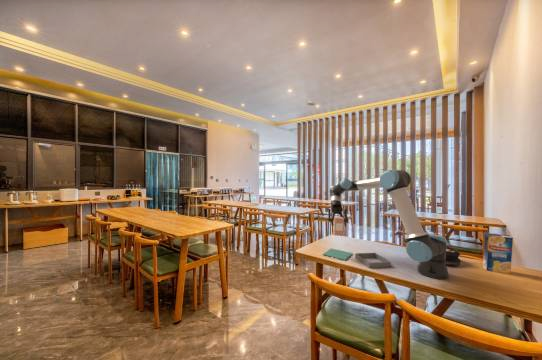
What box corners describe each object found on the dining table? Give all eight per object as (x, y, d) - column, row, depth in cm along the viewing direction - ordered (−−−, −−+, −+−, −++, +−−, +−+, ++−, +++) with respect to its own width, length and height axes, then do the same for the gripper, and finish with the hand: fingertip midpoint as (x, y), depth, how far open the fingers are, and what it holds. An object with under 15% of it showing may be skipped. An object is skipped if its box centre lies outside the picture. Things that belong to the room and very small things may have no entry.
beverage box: (510, 274, 139) (513, 237, 139) (486, 270, 144) (488, 235, 144) (505, 270, 145) (508, 235, 145) (482, 266, 151) (484, 232, 150)
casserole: (423, 252, 175) (424, 241, 174) (453, 256, 168) (454, 244, 168) (432, 264, 152) (433, 252, 151) (468, 269, 145) (469, 256, 144)
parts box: (341, 233, 168) (342, 216, 168) (343, 235, 162) (344, 218, 162) (333, 233, 169) (333, 216, 168) (334, 235, 163) (335, 218, 162)
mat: (352, 254, 167) (352, 253, 167) (345, 260, 154) (345, 259, 154) (331, 249, 177) (331, 248, 177) (322, 255, 164) (322, 254, 164)
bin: (390, 266, 146) (391, 262, 146) (369, 267, 144) (369, 263, 144) (374, 257, 163) (375, 252, 163) (355, 257, 161) (355, 253, 160)
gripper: (348, 206, 179) (352, 233, 163) (322, 205, 181) (324, 231, 165) (349, 200, 173) (354, 227, 158) (323, 199, 175) (325, 226, 160)
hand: (339, 229), depth 162 cm, fingers closed on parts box, 6 cm apart
